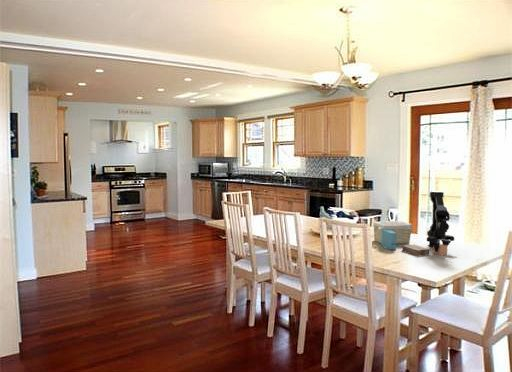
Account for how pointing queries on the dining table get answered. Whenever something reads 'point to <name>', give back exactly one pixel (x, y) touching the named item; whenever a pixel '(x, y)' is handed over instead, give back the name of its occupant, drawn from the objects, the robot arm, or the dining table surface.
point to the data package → (389, 239)
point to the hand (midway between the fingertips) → (440, 251)
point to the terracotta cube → (441, 250)
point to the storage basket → (395, 226)
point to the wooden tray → (415, 250)
